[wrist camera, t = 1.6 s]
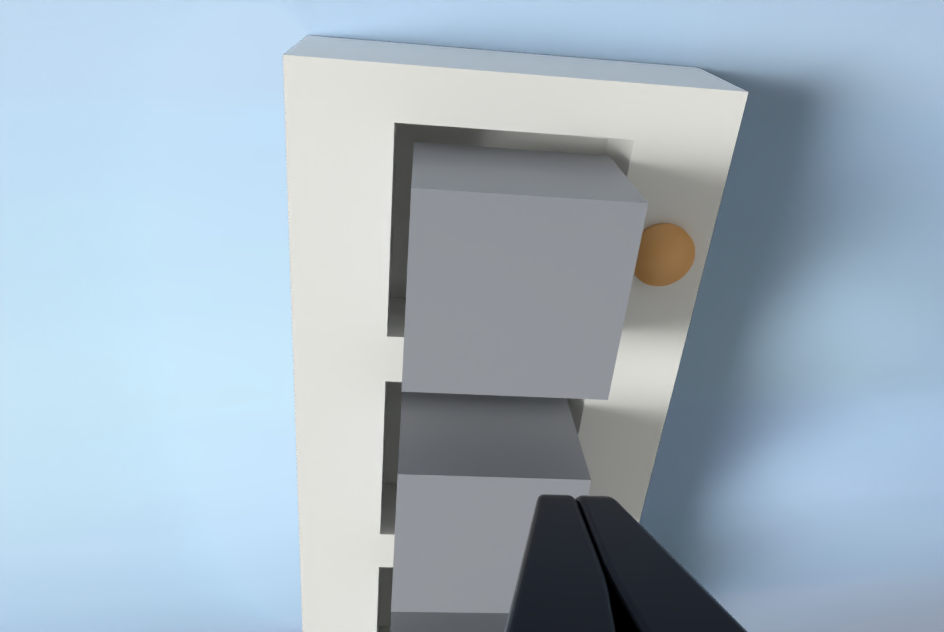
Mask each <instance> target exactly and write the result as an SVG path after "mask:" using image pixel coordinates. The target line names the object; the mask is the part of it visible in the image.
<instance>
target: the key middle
mask: <svg viewBox="0 0 944 632" xmlns="http://www.w3.org/2000/svg"><path fill="white" fill-rule="evenodd" d="M590 484H591V477H590V474H589V471H588V467H587V464H586V461H585V457H584V454H583V451H582V447H581V444H580V441H579V438H578V434H577V431H576V428H575V424H574V421H573V418H572V414H571V411H570V408H569V404H568V401H567V398H548V397H523V396H498V395H473V394H449V393H424V392H402V403H401V421H400V439H399V457H398V475H397V496H396V517H395V538H394V559H393V580H392V601H391V612H453V613H509V611H510V607H511V603H512V599H513V595H514V591H515V587H516V583H517V579H518V575H519V571H520V567H521V563H522V558H523V554H524V550H525V546H526V542H527V538H528V534H529V530H530V526H531V522H532V518H533V514H534V510H535V506H536V502H537V499H538V497H539V496H540V495H542V494H552V495H571V496H572V497H574V498H575V499H576V498H577V497H579V496H581V495H587V496H588V494H589V489H590Z"/></svg>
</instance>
